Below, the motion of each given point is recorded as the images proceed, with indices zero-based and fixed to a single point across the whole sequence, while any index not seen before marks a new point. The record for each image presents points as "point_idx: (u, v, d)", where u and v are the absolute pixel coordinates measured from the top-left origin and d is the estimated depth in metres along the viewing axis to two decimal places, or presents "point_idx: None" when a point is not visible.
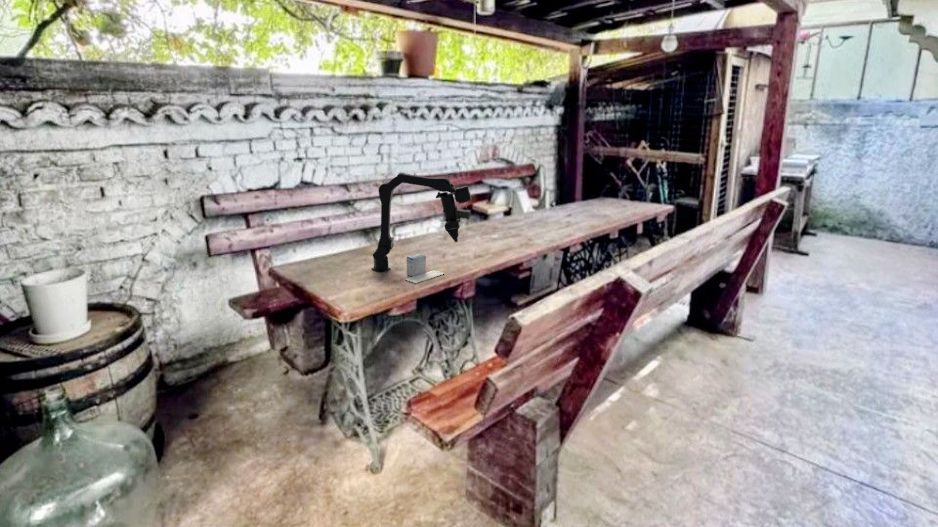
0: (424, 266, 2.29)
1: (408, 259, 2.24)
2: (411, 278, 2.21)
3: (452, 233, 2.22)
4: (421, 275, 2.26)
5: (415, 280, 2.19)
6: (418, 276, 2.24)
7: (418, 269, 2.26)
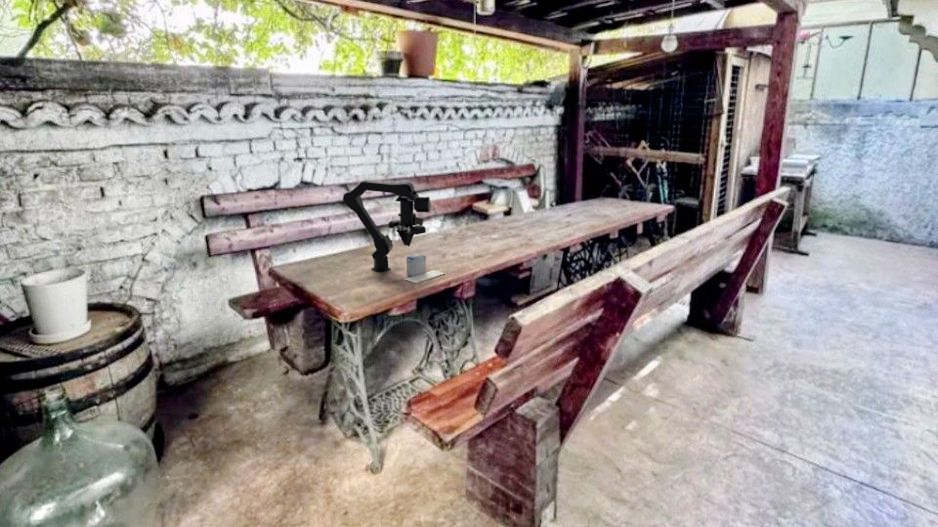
0: (424, 266, 2.29)
1: (408, 259, 2.24)
2: (411, 278, 2.21)
3: (409, 237, 2.25)
4: (421, 275, 2.26)
5: (415, 280, 2.19)
6: (418, 276, 2.24)
7: (418, 269, 2.26)
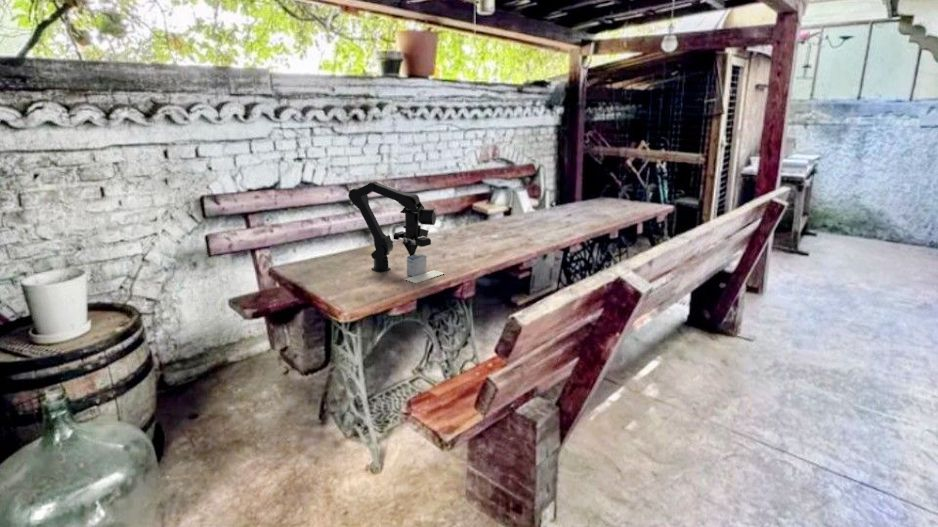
0: (424, 266, 2.28)
1: (409, 259, 2.24)
2: (411, 278, 2.21)
3: (413, 248, 2.25)
4: (421, 275, 2.26)
5: (415, 280, 2.19)
6: (418, 276, 2.24)
7: (418, 269, 2.26)
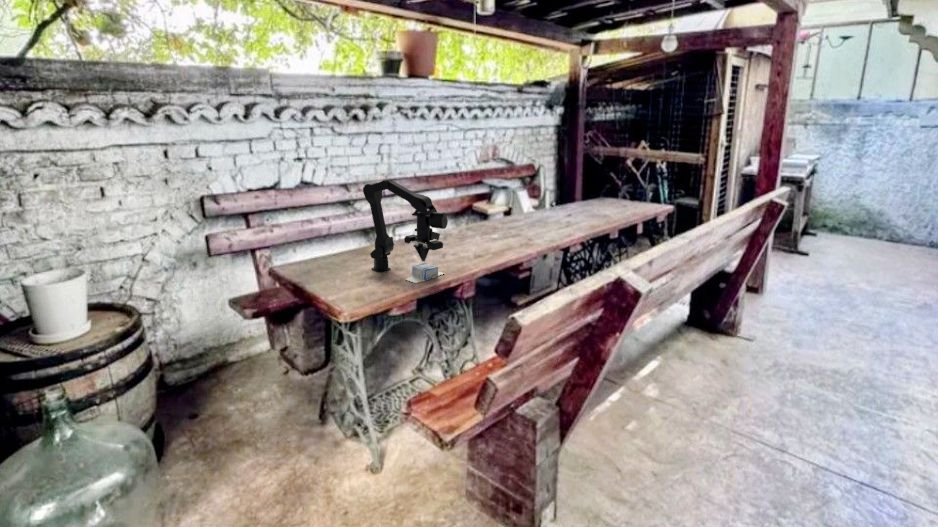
0: None
1: (423, 273, 2.19)
2: (411, 278, 2.21)
3: (424, 252, 2.21)
4: None
5: (415, 280, 2.19)
6: None
7: None
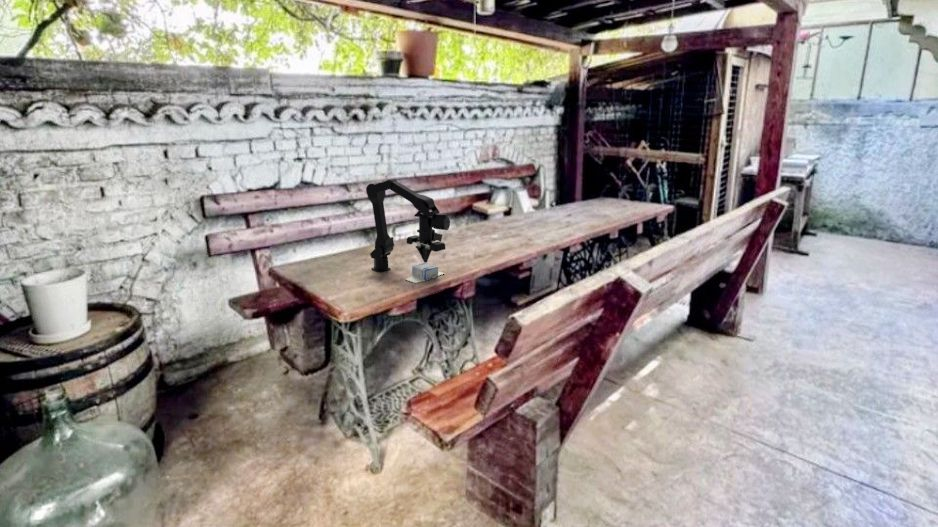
0: None
1: (423, 273, 2.19)
2: (411, 278, 2.21)
3: (426, 253, 2.20)
4: None
5: (415, 280, 2.19)
6: None
7: None
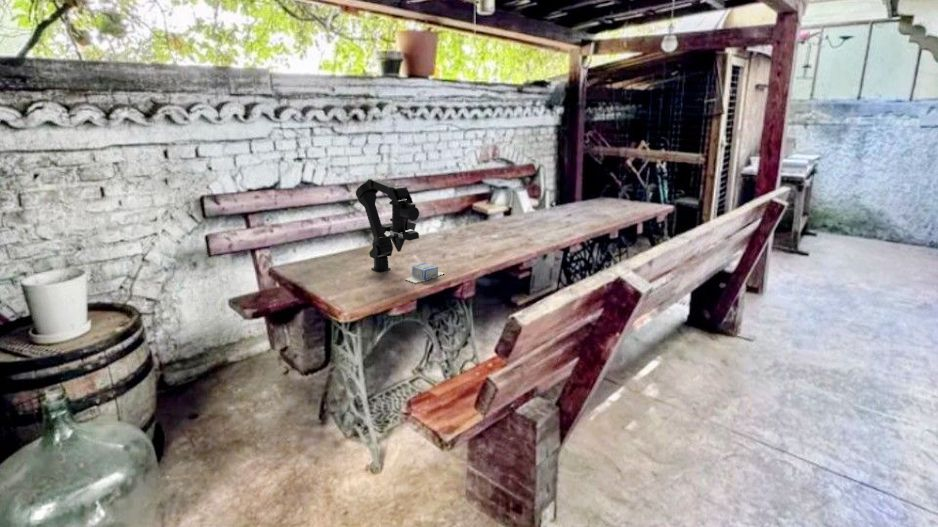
0: None
1: (423, 273, 2.19)
2: (411, 278, 2.21)
3: (400, 242, 2.18)
4: None
5: (415, 280, 2.19)
6: None
7: None
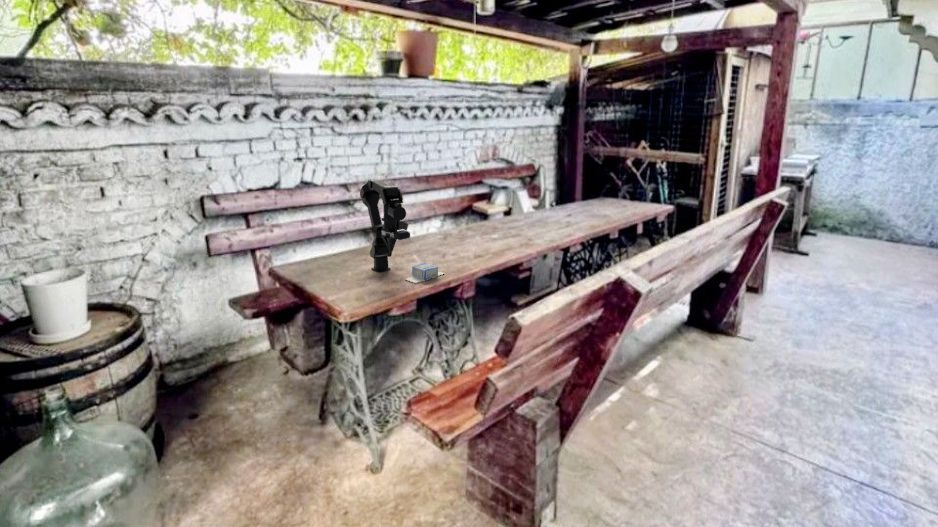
0: None
1: (423, 273, 2.19)
2: (411, 278, 2.21)
3: (391, 242, 2.17)
4: None
5: (415, 280, 2.19)
6: None
7: None
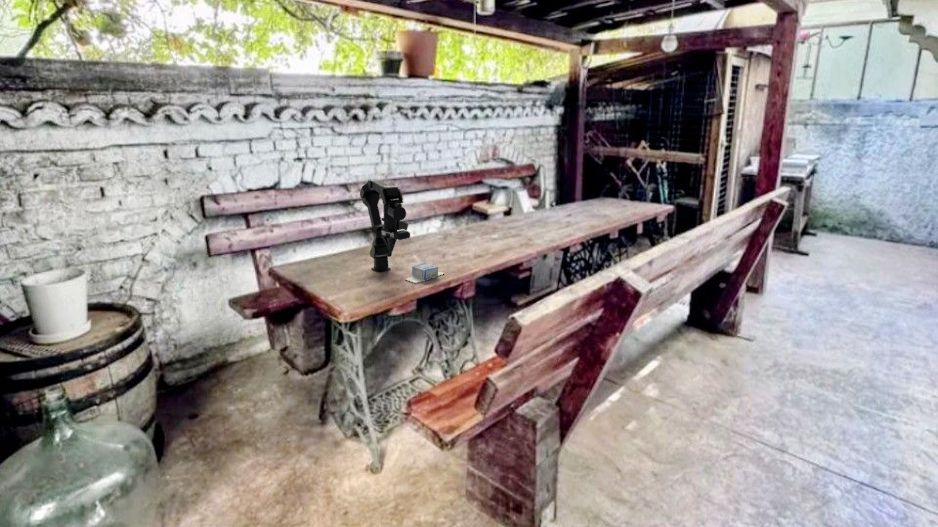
0: None
1: (423, 273, 2.19)
2: (411, 278, 2.21)
3: (391, 242, 2.17)
4: None
5: (415, 280, 2.19)
6: None
7: None
